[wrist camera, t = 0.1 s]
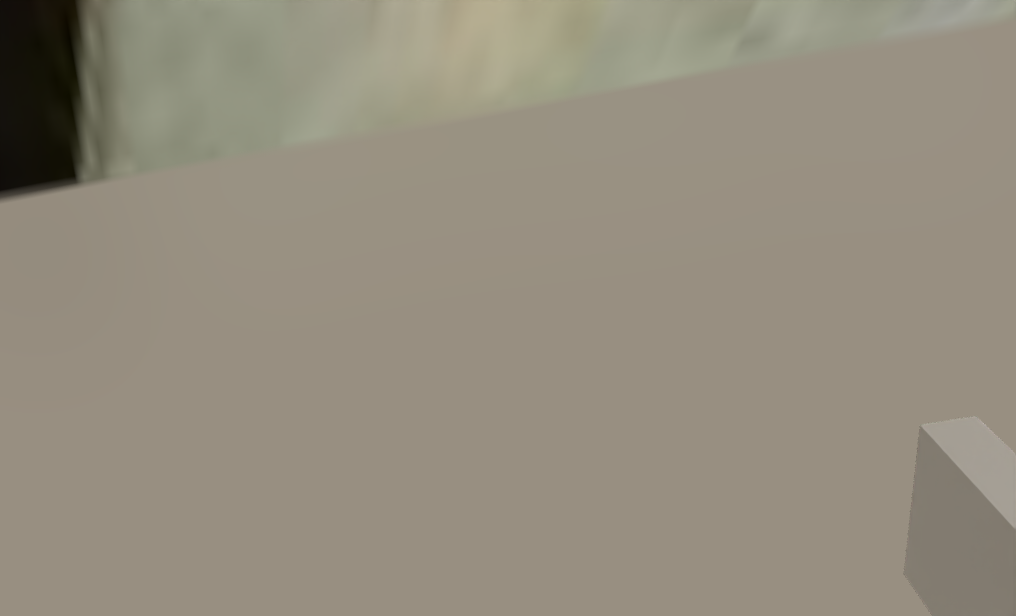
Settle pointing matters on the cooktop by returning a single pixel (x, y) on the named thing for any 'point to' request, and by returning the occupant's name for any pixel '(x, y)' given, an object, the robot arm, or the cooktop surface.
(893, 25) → the cooktop surface
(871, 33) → the cooktop surface
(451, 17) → the cooktop surface
